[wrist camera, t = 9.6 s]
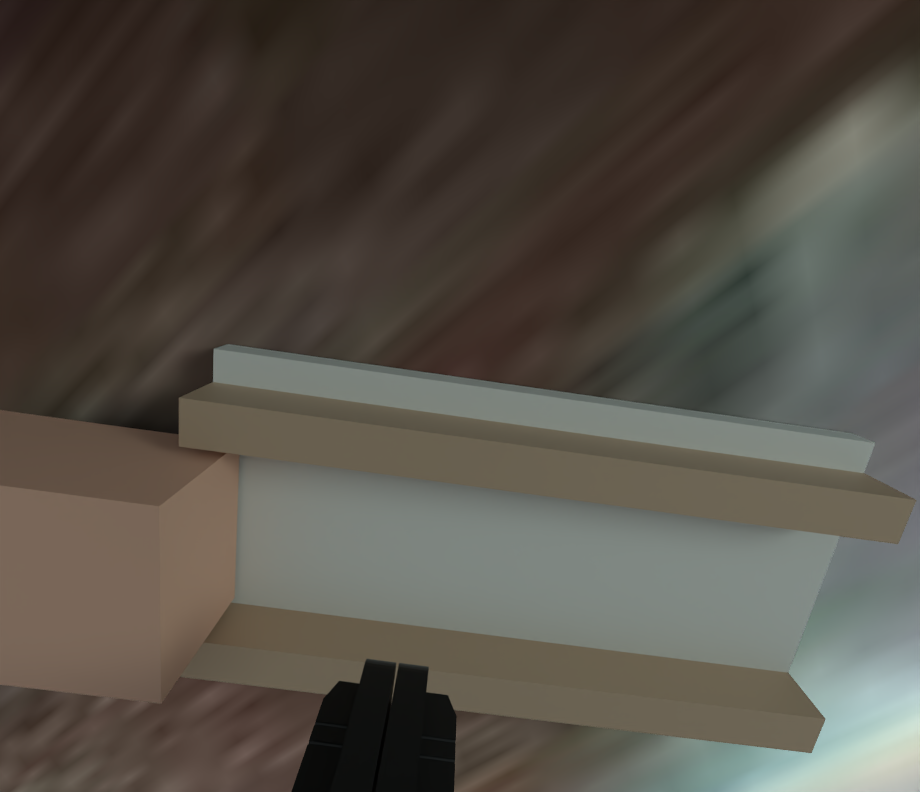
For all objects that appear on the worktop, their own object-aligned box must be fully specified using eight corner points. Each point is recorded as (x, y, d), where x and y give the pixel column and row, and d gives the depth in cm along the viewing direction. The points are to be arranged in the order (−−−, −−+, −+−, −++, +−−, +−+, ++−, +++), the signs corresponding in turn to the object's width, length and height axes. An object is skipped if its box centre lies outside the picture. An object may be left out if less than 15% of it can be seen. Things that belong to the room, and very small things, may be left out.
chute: (852, 433, 17) (930, 466, 15) (753, 704, 20) (801, 777, 18) (227, 344, 17) (178, 360, 14) (220, 638, 20) (178, 703, 17)
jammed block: (239, 442, 16) (159, 506, 12) (234, 597, 18) (161, 703, 14) (-7, 409, 16) (-180, 461, 12) (9, 568, 18) (-139, 668, 13)
